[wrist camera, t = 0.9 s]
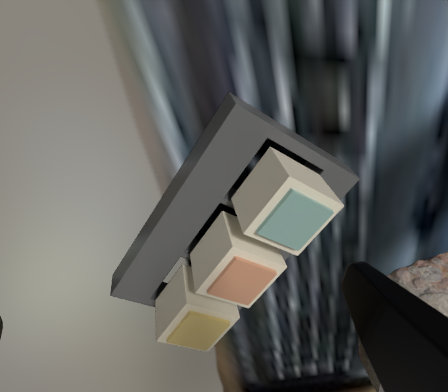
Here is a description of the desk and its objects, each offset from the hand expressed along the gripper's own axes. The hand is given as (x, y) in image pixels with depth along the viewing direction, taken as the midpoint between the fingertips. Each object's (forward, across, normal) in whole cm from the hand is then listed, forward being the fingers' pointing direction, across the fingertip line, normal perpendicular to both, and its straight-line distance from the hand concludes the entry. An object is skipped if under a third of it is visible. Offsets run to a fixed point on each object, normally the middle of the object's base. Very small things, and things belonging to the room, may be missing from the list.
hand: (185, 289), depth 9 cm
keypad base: (+13, -4, +8) cm, 16 cm away
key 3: (+11, -1, +13) cm, 17 cm away
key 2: (+11, -4, +8) cm, 14 cm away
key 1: (+11, -6, +4) cm, 13 cm away
